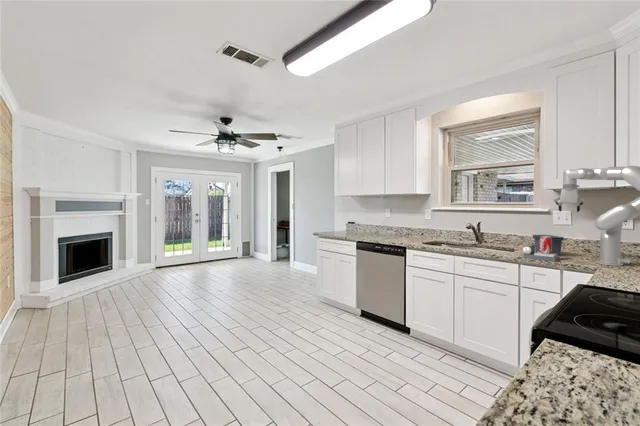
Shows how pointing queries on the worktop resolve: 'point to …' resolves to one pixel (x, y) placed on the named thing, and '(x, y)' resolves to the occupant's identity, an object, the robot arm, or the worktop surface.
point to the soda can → (545, 245)
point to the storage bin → (555, 243)
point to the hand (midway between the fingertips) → (569, 211)
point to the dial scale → (538, 254)
